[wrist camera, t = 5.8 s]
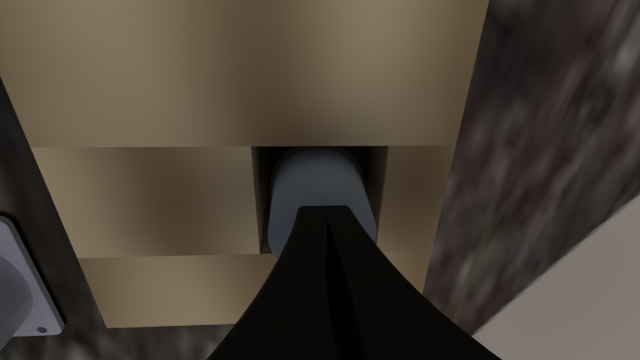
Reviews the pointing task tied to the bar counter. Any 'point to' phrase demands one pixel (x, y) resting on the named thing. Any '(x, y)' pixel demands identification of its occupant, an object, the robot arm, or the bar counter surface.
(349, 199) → the blue peg
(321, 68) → the beech block
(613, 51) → the bar counter surface
